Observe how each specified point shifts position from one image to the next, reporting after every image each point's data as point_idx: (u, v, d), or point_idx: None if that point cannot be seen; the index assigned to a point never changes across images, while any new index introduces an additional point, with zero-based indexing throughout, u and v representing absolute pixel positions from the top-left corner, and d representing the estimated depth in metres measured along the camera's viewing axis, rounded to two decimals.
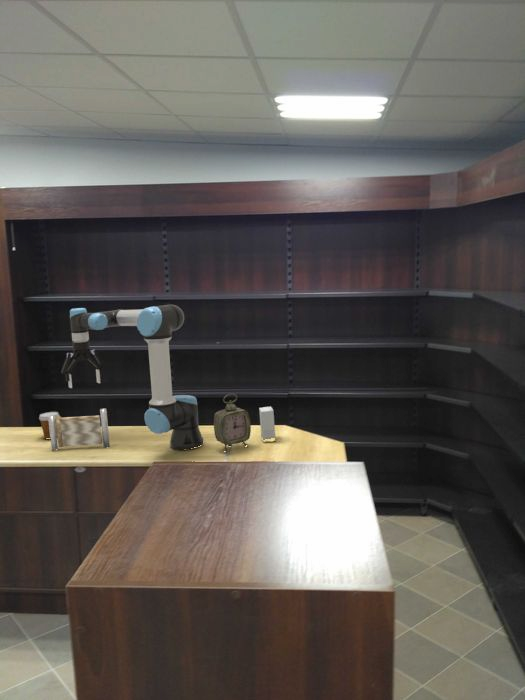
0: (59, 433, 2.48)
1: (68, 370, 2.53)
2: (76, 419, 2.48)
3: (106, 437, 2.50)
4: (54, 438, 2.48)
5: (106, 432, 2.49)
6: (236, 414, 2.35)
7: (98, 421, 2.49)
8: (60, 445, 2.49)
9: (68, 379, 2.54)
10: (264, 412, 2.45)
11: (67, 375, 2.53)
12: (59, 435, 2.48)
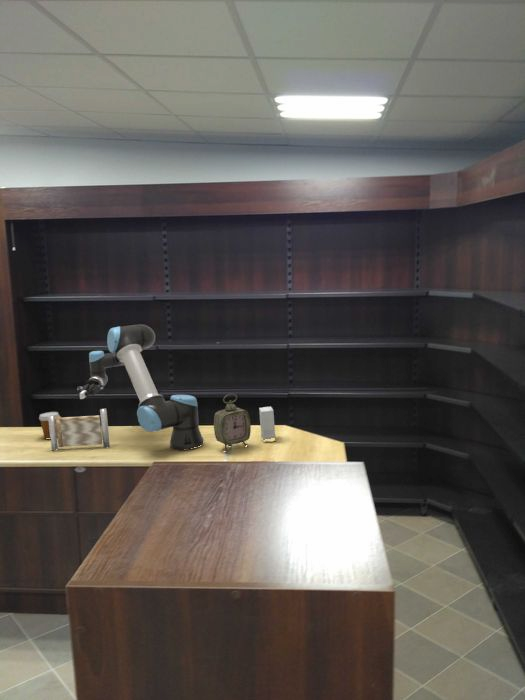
0: (59, 433, 2.48)
1: (82, 389, 2.62)
2: (76, 419, 2.48)
3: (106, 437, 2.50)
4: (54, 438, 2.48)
5: (106, 432, 2.49)
6: (236, 414, 2.35)
7: (98, 421, 2.49)
8: (60, 445, 2.49)
9: (81, 392, 2.57)
10: (264, 412, 2.45)
11: (81, 391, 2.59)
12: (59, 435, 2.48)
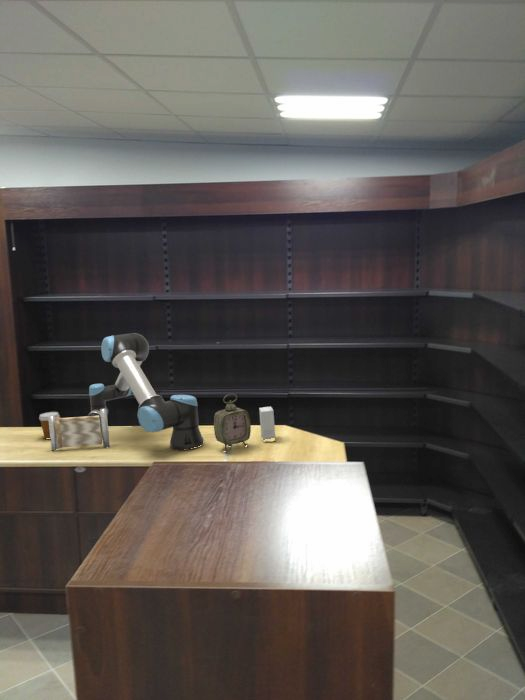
0: (59, 434, 2.47)
1: None
2: (76, 419, 2.47)
3: (106, 437, 2.50)
4: (54, 438, 2.48)
5: (106, 432, 2.49)
6: (236, 414, 2.35)
7: (98, 421, 2.49)
8: (60, 446, 2.48)
9: None
10: (264, 412, 2.45)
11: None
12: (59, 435, 2.47)
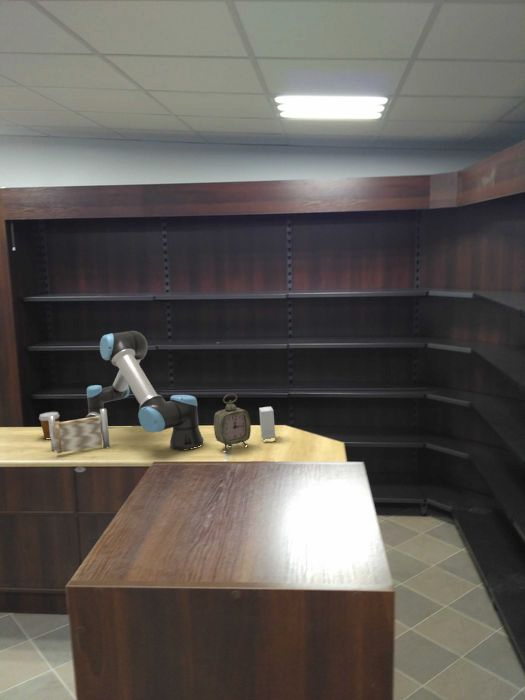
0: (59, 439, 2.40)
1: None
2: (76, 422, 2.43)
3: (106, 437, 2.50)
4: (54, 438, 2.48)
5: (106, 432, 2.49)
6: (236, 414, 2.35)
7: (98, 422, 2.48)
8: (59, 451, 2.41)
9: None
10: (264, 412, 2.45)
11: None
12: (59, 440, 2.40)
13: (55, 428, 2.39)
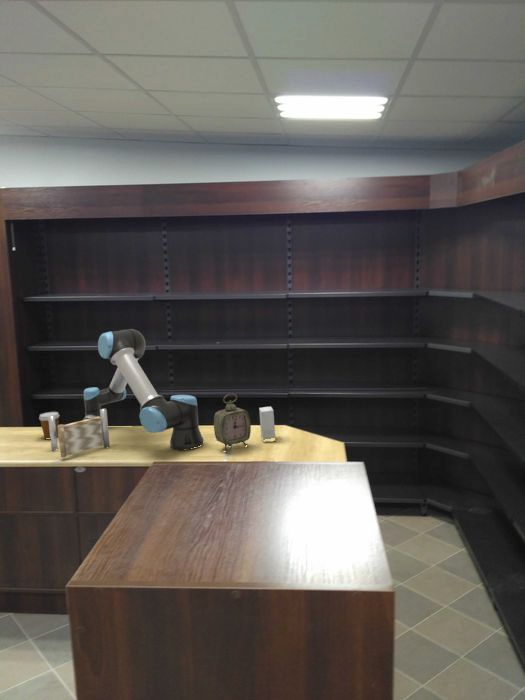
0: (64, 442, 2.35)
1: None
2: (80, 424, 2.40)
3: (106, 437, 2.50)
4: (54, 438, 2.48)
5: (106, 432, 2.49)
6: (236, 414, 2.35)
7: (99, 422, 2.47)
8: (65, 454, 2.36)
9: None
10: (264, 412, 2.45)
11: None
12: (64, 444, 2.35)
13: (60, 431, 2.34)
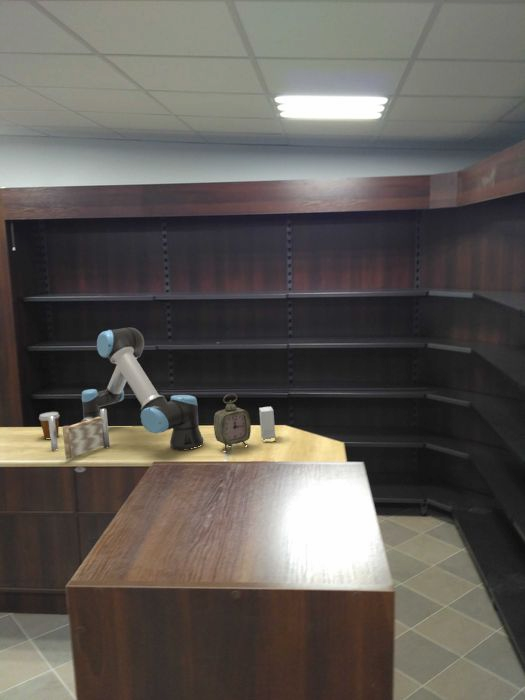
0: (69, 443, 2.33)
1: None
2: (83, 424, 2.39)
3: (106, 437, 2.50)
4: (54, 438, 2.48)
5: (106, 432, 2.49)
6: (236, 414, 2.35)
7: (100, 422, 2.47)
8: (70, 456, 2.34)
9: None
10: (264, 412, 2.45)
11: None
12: (69, 445, 2.33)
13: (66, 433, 2.32)
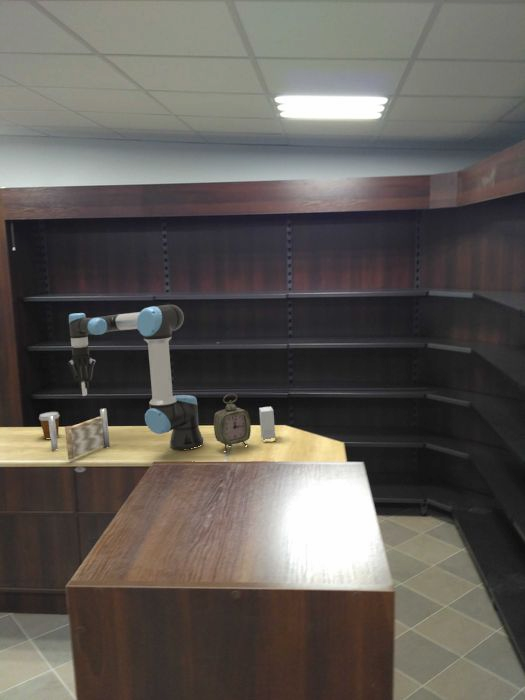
0: (72, 444, 2.32)
1: (78, 378, 2.57)
2: (85, 424, 2.38)
3: (106, 437, 2.50)
4: (54, 438, 2.48)
5: (106, 432, 2.49)
6: (236, 414, 2.35)
7: (101, 422, 2.47)
8: (72, 456, 2.33)
9: (81, 387, 2.58)
10: (264, 412, 2.45)
11: (80, 383, 2.58)
12: (72, 445, 2.32)
13: (68, 433, 2.31)
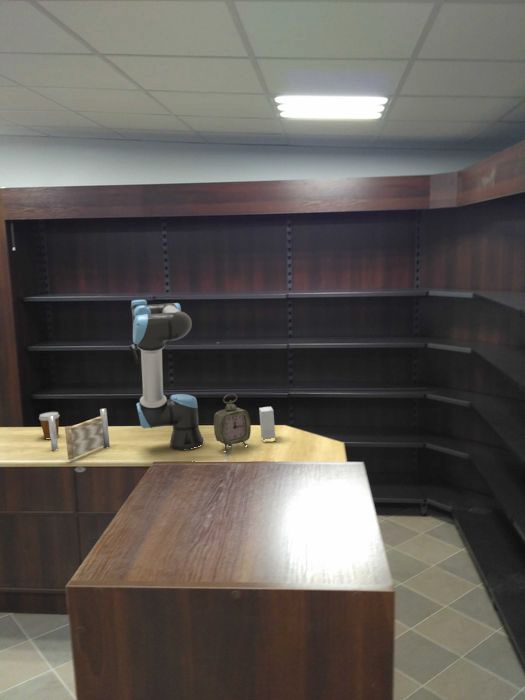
0: (72, 444, 2.32)
1: (139, 362, 2.71)
2: (85, 424, 2.38)
3: (106, 437, 2.50)
4: (54, 438, 2.48)
5: (106, 432, 2.49)
6: (236, 414, 2.35)
7: (101, 422, 2.47)
8: (72, 456, 2.33)
9: (141, 370, 2.72)
10: (264, 412, 2.45)
11: (141, 366, 2.72)
12: (72, 445, 2.32)
13: (68, 433, 2.31)
